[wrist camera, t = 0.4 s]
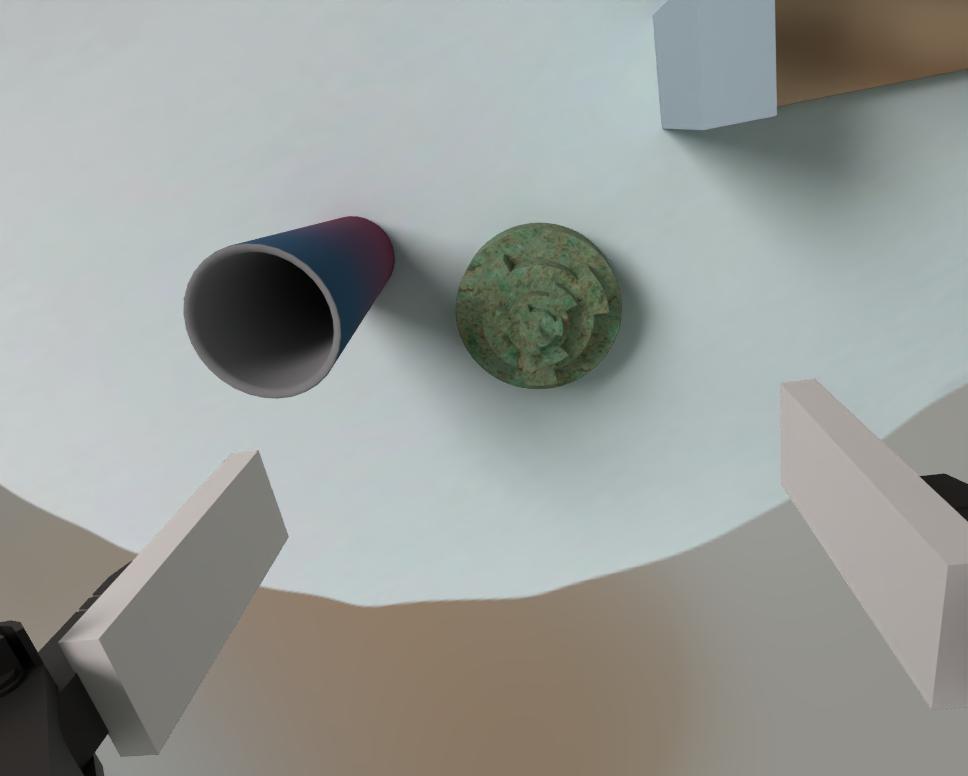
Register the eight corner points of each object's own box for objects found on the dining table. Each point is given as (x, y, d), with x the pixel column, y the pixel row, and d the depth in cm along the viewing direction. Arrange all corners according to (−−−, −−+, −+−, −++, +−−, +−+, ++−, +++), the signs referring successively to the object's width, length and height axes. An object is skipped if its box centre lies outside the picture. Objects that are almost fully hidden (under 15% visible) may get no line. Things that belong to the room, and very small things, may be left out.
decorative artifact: (537, 187, 38) (429, 303, 42) (536, 200, 32) (409, 336, 35) (649, 299, 40) (538, 402, 44) (670, 333, 34) (538, 450, 37)
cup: (388, 188, 39) (305, 223, 25) (422, 293, 41) (363, 379, 27) (287, 217, 40) (155, 267, 26) (326, 319, 42) (223, 413, 29)
